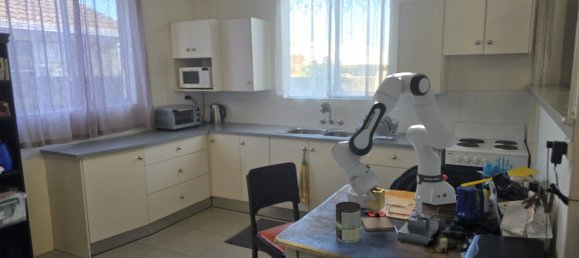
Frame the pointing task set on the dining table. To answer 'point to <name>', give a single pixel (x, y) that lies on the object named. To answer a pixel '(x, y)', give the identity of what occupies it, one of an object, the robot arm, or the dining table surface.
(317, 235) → the dining table surface
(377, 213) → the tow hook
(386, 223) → the walnut board
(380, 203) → the pale yellow block
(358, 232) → the coffee can
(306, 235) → the dining table surface
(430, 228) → the vise
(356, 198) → the white bowl
